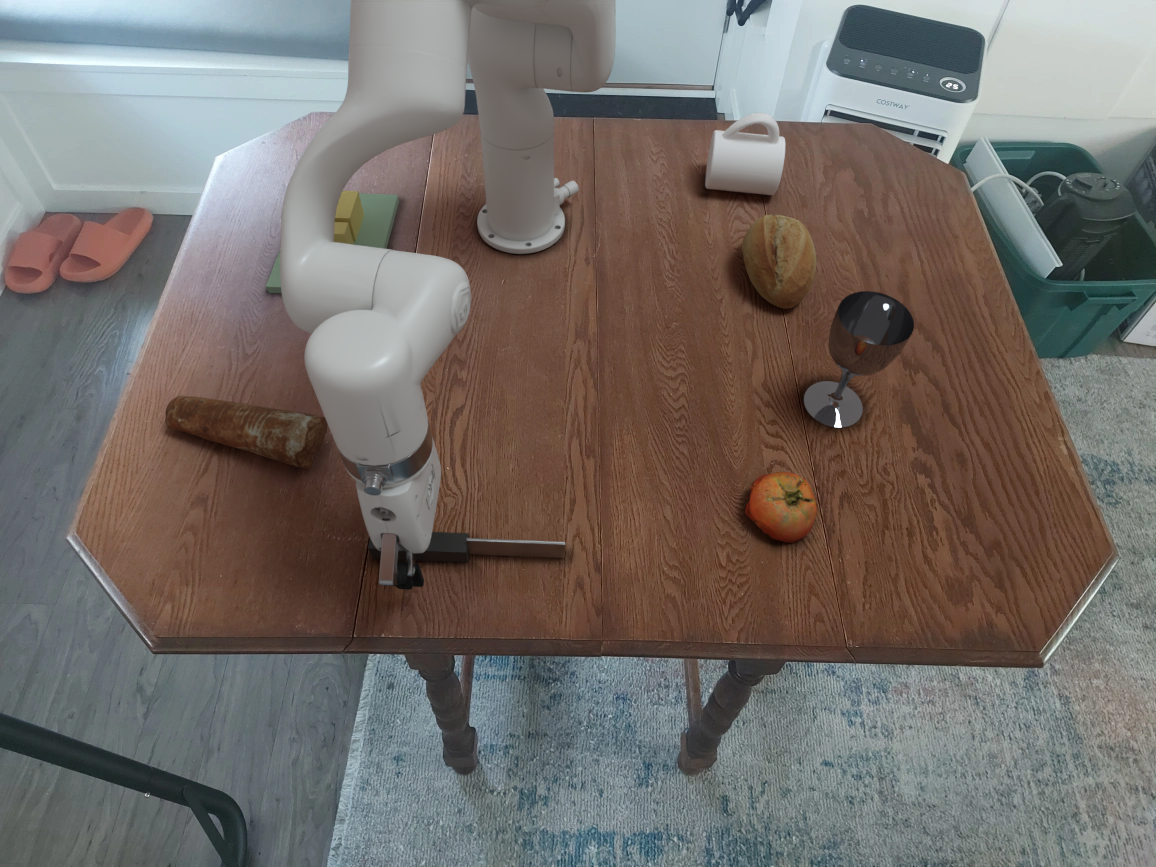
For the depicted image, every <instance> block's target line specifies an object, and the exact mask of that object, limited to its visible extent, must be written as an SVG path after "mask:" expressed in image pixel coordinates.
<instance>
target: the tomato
mask: <svg viewBox="0 0 1156 867" xmlns="http://www.w3.org/2000/svg"><path fill="white" fill-rule="evenodd" d="M749 491H750V494H749V497H748V496H746V497H745V499H746V500H748V498H749V501H748V502H747V503H746V506H745V509H744V513H745V515H746V516H747V518H749V519H750V520H751V521H752V522H753V523H754V525H756V526H757V527H758V529H760V530H761V532H762V533H763V534H765V535H768V537H770V538H771V539H772V540H776V541H779V542H783V543H787V544H794V543H797V542H798V541H800V540H802V539H803V538H805V537H807V535H808V534H809V533H810V532H811V530H812V529H813V526H814V523H815V520H816V518H817V514H818V506H817V505H818V504H817V502H816V497H815V495H814V493H813V490H812V487H811V485H810V484H809V482H808V481H807V480H806V479H805V478H804V477H803V476H801V475H799V474H797V473H793V472H790V471H789V472H788V471H778V472H777V471H776V472H773V473H768V474H762V475H761V476H759V477H757V478H756V479H754V481H752V483H751V484H750V487H749Z"/></svg>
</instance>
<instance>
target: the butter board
mask: <svg viewBox="0 0 1156 867" xmlns="http://www.w3.org/2000/svg"><path fill="white" fill-rule="evenodd" d="M399 204H400V198H399V194H390V193H389V194H387V193H366V192H362V193H361V192H359V190H343V191H342V193H341V196H340V199H339V202H338V205H337V209H336V215H335V222H347V223H348V224H349V228H350V231H351V235H352V238H353V242H354V245H360V246H368V247H376V248H384V249H388V245H389V242H390V241H389V240H390V237H391V233H392V230H393V227H394V223H395V218H396V214H397V211H398V208H399ZM265 288H266V290H267V293H268V294H282V291H281V279H280V250H279V251H278V254H277V256H276V259H275V262H274V264H273V267H272V269H271V271H270V275H269V277H268V280H267V282H266V284H265Z"/></svg>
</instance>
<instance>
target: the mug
mask: <svg viewBox="0 0 1156 867" xmlns="http://www.w3.org/2000/svg"><path fill="white" fill-rule="evenodd" d="M752 125H762V126H764V127H765V128H766V131H767V134H761V133H760V134H759V133H751V132H749V133H748V132H740V131H742V130H743V129H745V128H747V127H749V126H752ZM786 146H787V145H786V139H785V137H784V136H781V135H780V128H779V124H778V122H777V121H776V120H775V118H774V117H773V116H771V115H770V114H768V113H765V112H754V113H749V114H747V115H745V116H743V117H741V118H739V119H738V120H737V121H735V122H733V123H732V124H731V125H730V126H729V127H727V128H726V129H725V130H719V129H715V130H713V132H712V135H711V139H710V143H709V149H708V154H707V163H706V171H705V178H704V180H705V181H704V186H705V187H704V188H706V190H717V191H724V192H725V191H727V192H735V193H744V194H745V193H746V194H757V195H766V196H774V195H775V194H776V193H777V191H778V189H779V186H780V183H781V179H782V175H783V171H784V165H785V158H786Z"/></svg>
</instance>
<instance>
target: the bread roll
mask: <svg viewBox="0 0 1156 867" xmlns="http://www.w3.org/2000/svg"><path fill="white" fill-rule="evenodd" d="M741 243H742V245H741V251H742V257H743V262H744V266H745V270H746V273H747V276H748V277H749V280H750V283H751V284H752V286H753V287H754V289H755V290H756V291H757V293H758V294H759V295H760V296H761V297H762V298H763V299H764V300H765V301H767V302H768V303H770V304H771V305H773V306H774V307H777V308H780V309H792V308H794V307H796V306H797V305H798V304H799V303H800V302H801V301H803V299H804V298H806V296H807V295H808V293H809V292H810V289H811V288H812V286H813V283H814V281H815V278H816V272H817V251H816V247H815V245H814V241H813V238H812V236H811V234H810V232H809V230H808V229H807V227H806V226H805V225H804V223H802V222H801V221H800V220H799V219H796V218H794V217H791V216H790V217H789V216H786V215H782V214H772V213H771V214H764V215H763V216H761V217H759V218H757V219H756V220H755V221H754V222H753V223H752V224H751V225H750V226H749V228H748V229H747V231H746V232H745V234H744V236H743V238H742V242H741Z"/></svg>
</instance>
